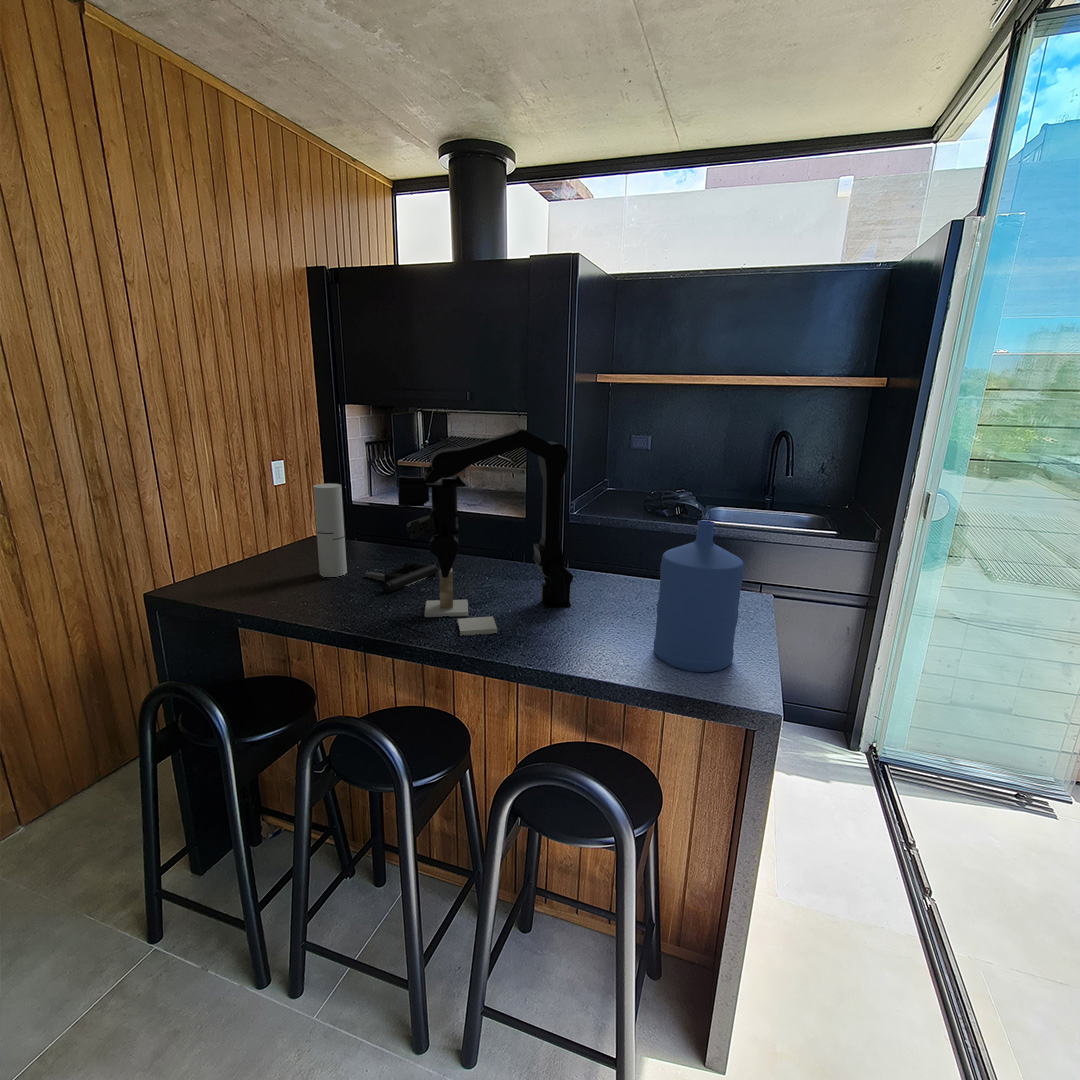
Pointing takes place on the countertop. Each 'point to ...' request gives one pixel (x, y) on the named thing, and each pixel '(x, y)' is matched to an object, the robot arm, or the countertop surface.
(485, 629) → the tile
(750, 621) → the countertop surface
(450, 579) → the stick
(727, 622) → the water jug
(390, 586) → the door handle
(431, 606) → the grey flat plate
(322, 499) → the cylindrical container
